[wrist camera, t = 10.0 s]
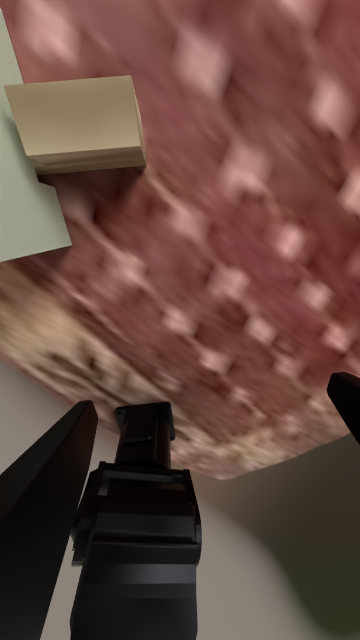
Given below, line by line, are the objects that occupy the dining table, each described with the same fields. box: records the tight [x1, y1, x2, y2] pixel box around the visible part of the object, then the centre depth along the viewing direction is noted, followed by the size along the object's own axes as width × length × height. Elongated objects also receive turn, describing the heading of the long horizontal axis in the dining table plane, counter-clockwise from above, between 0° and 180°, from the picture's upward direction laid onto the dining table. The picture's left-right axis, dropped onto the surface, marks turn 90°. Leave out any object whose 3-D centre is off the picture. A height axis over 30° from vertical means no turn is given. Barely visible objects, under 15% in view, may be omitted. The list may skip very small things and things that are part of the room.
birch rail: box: [3, 75, 147, 175], centre depth 12 cm, size 3×16×4 cm, turn 95°
